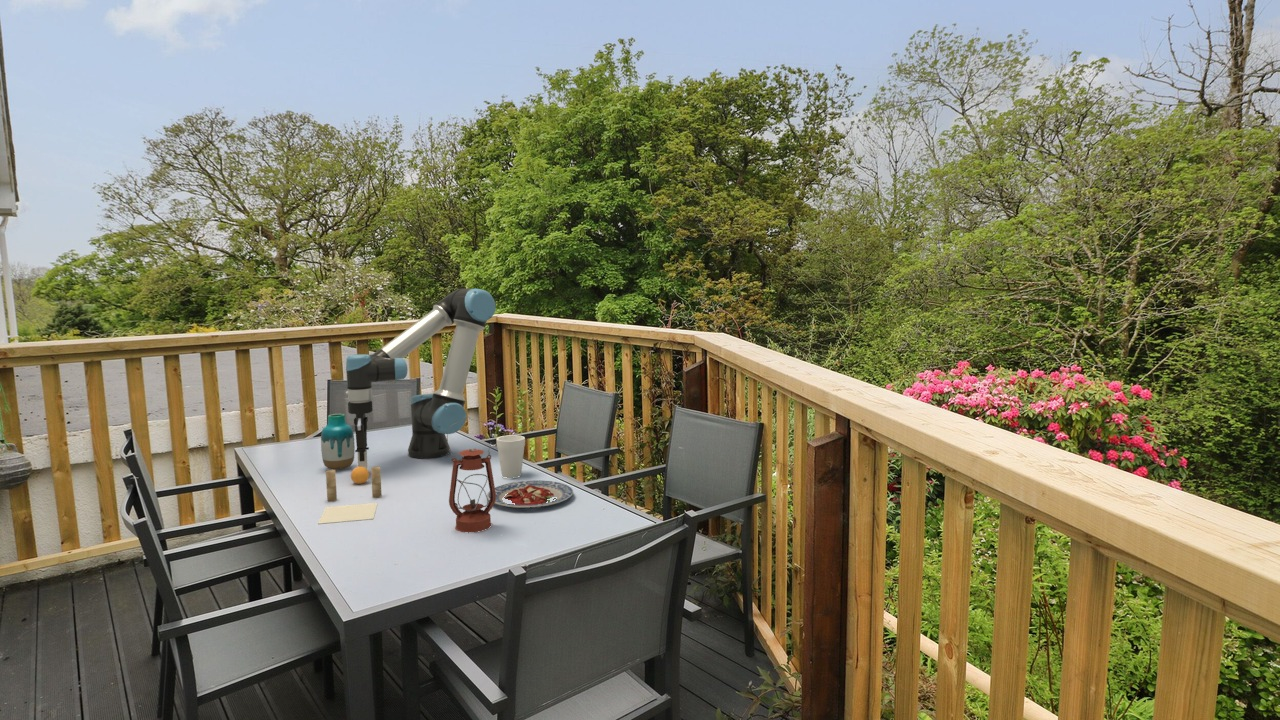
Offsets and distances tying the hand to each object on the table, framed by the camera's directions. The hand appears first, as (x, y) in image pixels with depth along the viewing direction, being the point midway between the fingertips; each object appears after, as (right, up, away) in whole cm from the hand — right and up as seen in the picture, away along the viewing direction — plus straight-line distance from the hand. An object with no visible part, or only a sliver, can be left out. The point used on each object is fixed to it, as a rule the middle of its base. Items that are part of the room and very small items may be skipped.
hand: (362, 469), depth 230 cm
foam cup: (+50, -2, 0) cm, 50 cm away
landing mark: (+11, -6, -37) cm, 39 cm away
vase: (-12, -1, +8) cm, 14 cm away
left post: (+1, -5, -26) cm, 26 cm away
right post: (+13, -5, -22) cm, 26 cm away
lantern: (+49, -8, -47) cm, 68 cm away
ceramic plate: (+60, -5, -24) cm, 65 cm away
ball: (+3, 0, -9) cm, 9 cm away
